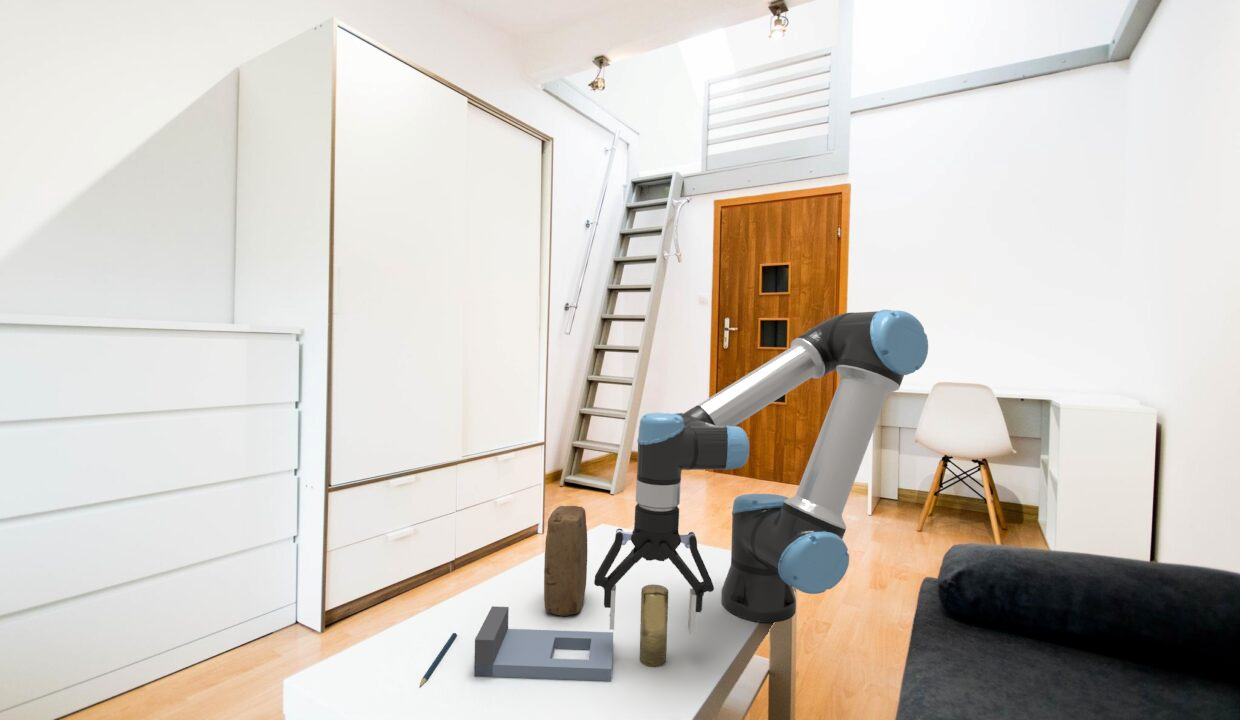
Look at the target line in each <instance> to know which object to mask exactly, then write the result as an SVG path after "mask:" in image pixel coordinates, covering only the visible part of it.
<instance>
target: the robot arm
mask: <svg viewBox="0 0 1240 720" xmlns="http://www.w3.org/2000/svg"><path fill="white" fill-rule="evenodd" d="M928 353H929V339H928V335H927V334H926V333H925V329H924V326H923V324H922V323H921V321H919V319H918V318H917V317H916V316H914V315H913V314H911V313H909V312H907V311H905V310H904V311H903V310H892V309H882V310H879V311H878V310H877V311H863V312H862V311H861V312H845V313H841V314H837V315H836V316H833V317H831V318H828V319H826V320H825V321H823V322H821V323H819V324H817V325H816V326H814V327H812V328H811V329H809V330H807V331H806V332H804V333H803V334H800V335H799V336H797V337H796V338H794V339H793V340H792V341H791V344H790V347H789V348H788V349H786V350H784V351H782V352H781V353H780V354H778V355H776V356H774V357H773V358H771V359H769V360H767V362H765V363H764V364H762V365H760V366H758V367H757V368H755V369H754V370H751V372H749V373H747V374H745V375H743V376H742V377H741V378H739V379H738V380H736V381H735V382H733V383H731V384H729V385H728V386H726V387H725V388H723V389H722V390H720V391H718V392H717V393H715V394H713V395H711V396H710V397H708V398H706V399H705V400H703V401H702V402H700V403H699V404H698V405H695V406H694V407H692V408H690V409H688V410H686V412H684V413H683V412H677V413H676V412H675V413H668V412H667V413H664V412H651V413H650V412H649V413H646V414H643V415H642V416H641V418H640V421H639V426H638V435H637V440H636V441H637V465H636V466H637V469H636V470H637V471H636V480H635V481H636V485H635V502H636V504H635V507H634V523H633V525H634V527H633V530H632V532H629V531H624V530H623V529H622V528H617V529H616V530H615V536H614V540H613V543H612V544H611V547H610V549H609V550H608V552H607V554H606V555H605V557H604V559H603V561H602V563H601V564H600V566H599V567H598V570H597V571H596V573H595V575H594V580H593V581H594V582H593V583H594V585H595V587H601V588H602V589H603V590H604V592H603V593H604V594H603V595H604V596H603V597H604V598H603V606H604V609H605V608H606V609H609V630H615V615H616V614H615V613H616V592H617V583H618V582H619V581H620V580H621V579H622V578H624V576H625V575H626V574H627V573H628V571H630V570H631V569H632V567H634V565H636V564H637V563H638V562H639V561H640V560H641V559H644V560H645V561H647V562H648V561H659V562H665V561H666V560H668V559H669V560H670V562H671V563H672V564H673V566H675V567H676V569H677V570H678V571H679V572H680V575H682V577H683V578H684V580H686V581H687V583H688V584H689V585H690V587H691V588H689V604H688V623H687V624H688V625H687V626H688V630H689V634H693V635H694V634H695V631H696V630H695V629H696V613H702V610H703V599H704V598H703V596H704V594H705V593H706V592H710V593H711V592H713V591H714V590H715V586H714V584H713V580H712V578H711V576H710V575H709V572H708V571H709V570H708V569H707V567H706V565H705V563H704V560H703V559H702V556H701V554H700V552H699V550H698V541H697V537H696V534H695V533H694V532H693V531H690V532H689V533H688V534H680V533H679V528H680V527H679V526H680V525H679V524H680V523H679V522H680V508H679V507H678V506H679V505H680V503H681V501H680V500H681V482H682V481H681V480H682V471H683V470H684V471H690V470H699V471H700V470H704V471H705V470H724V471H727V470H732V469H733V470H734V469H740V468H742V467H744V466H745V464H747V462H748V459H749V457H750V440H749V438H748V435H747V434H748V433H746V431H745V430H744V429H743V428H742V427H740V426H738V425H740V423H742V422H744V421H746V420H747V419H749V418H750V417H751V416H753V415H755V414H756V413H758V412H759V411H761V410H762V409H765V407H768V405H770V404H772V403H774V402H775V401H777V400H778V399H780V398H781V397H783V396H785V395H786V394H788V393H789V392H791V391H793V390H794V389H796V388H798V387H799V386H800V385H802V384H804V383H805V382H806V381H808V380H811V378H812V379H817V380H818V379H820V378H823V377H824V376H825V375H828V374H830V373H832V372H835V371H836V372H837V374H838V377H839V382H838V385H837V387H836V389H835V392H834V395H833V398H832V400H831V402H830V405H829V407H828V411H827V413H826V416H825V418H824V421H823V423H822V425H821V428H820V431H819V433H818V436H817V438H816V441H815V444H814V446H813V449H812V452H811V454H810V457H809V460H808V462H807V465H806V466H805V470H804V472H803V474H802V476H801V481H800V482H799V485H798V487H797V490H796V493H795V494H794V496H791V497H790V498H789V497H788V496H784V495H779V494H774V493H747V494H741V495H738V496H736V497H735V499H734V500H733V505H732V512H731V515H732V518H731V520H732V522H731V527H732V528H731V548H730V549H731V552H730V554H731V556H730V557H731V559H730V567H729V569H728V572H727V574H726V576H725V580H724V582H723V585H722V587H721V595H720V596H721V601H720V602H721V604H722V606H723V607H724V608H725V609H726V610H727V611H728V612H730V613H731V614H733V615H735V616H738V617H740V618H742V619H745V620H748V619H749V620H748V621H752V620H754V621H753V622H757V621H759V622H760V623H779V622H780V623H781V622H784V621H787V620H789V619H791V618H793V616H795V614H796V612H797V611H796V609H797V598H796V594H795V592H794V591H795V590H794V589H796V590H798V591H799V592H802V593H805V594H809V595H818V594H822V593H824V592H826V591H827V590H831V589H833V588H834V587H835V586H837V585H838V584H839V583H841V581H842V579H843V578H844V576H845V575H846V573H847V572H848V571H847V570H848V568H849V566H850V565H849V564H850V553H848V551H849V550H848V547H847V545H846V543H845V542H844V540H843V539H844V536H845V534H846V530H847V525H846V523H845V521H844V519H843V513H844V510H845V506H846V505H847V502H848V500H849V496H850V494H851V491H852V488H853V486H854V484H855V481H856V478H857V475H858V472H859V470H860V468H861V465H862V462H863V459H864V457H865V455H866V451H867V449H868V446H869V443H870V441H871V438H872V436H873V433H874V430H875V427H876V425H877V423H878V420H879V418H880V417H879V416H880V414H881V412H882V409H883V406H884V404H885V401H886V400H887V396H888V395H889V394H892V393H894V392H896V391H898V390H900V388H901V385H902V382H903V379H904V377H905V376H908V375H910V374H914V373H915V372H916V371H918V370H920V369H921V368H922V367H923V366H924V364H925V362H926V359H927V358H928ZM629 541H631V543H632V544H633V546H634V547H633V548H632V549H631V551H630V552H629V554H628V555H627V556H626V557H625V558H623V560H622V561H621V562H620V563H618V565H617V566H616V567H615V569H613V570H612V571H611V573H609V575H608V572H609V571H610V569H611V567H612V566H613V563H614V561H616V558H617V557H618V554H619V553H620V551H621V548H622V546H625V545H627V542H629ZM681 543H682V544H683V545H684V547H685V548H686V549H689V550H690V554H691V556H692V558H693V561H694V564H695V565H696V568H697V570H698V572H699V574H700V576H701V579H702V581H700V580H699V579H698V578H697V576H696V575H695V574H694V573H693V571H692V570H691V568H689V566H688V565H687V564H686V563H685V561H684V560H683V559H682V557H681V556H680V555H679V553H678V551H677V549H678V547H679V546H680V545H681ZM607 575H608V576H607ZM793 588H794V589H793ZM759 622H758V623H759Z"/></svg>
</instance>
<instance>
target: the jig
mask: <svg viewBox="0 0 1240 720" xmlns="http://www.w3.org/2000/svg"><path fill="white" fill-rule="evenodd" d="M509 610H510V608H509V606H491V607H490V609H489V611H488V613H487V615H486V617H485V620H484V621H483V623H482V626H481V627H480V629H479V631H478V633H477V635H476V637H475V639H474V669H473V674H474V677H484V678H485V677H488V678H508V679H509V678H510V679H511V678H513V679H517V678H518V679H539V680H540V679H543V680H565V681H567V680H570V681H595V682H596V681H597V682H598V681H601V682H611V681H612V667H613V651H614V650H613V647H614V631H613V632H611V631H609V632H608V631H586V630H585V631H581V630H559V629H558V630H557V629H555V630H554V629H530V628H529V629H527V628H526V629H524V628H509ZM557 649H561V650H589V655H588V659H582V658H581V659H578V658H576V659H575V658H574V659H573V658H553V657H554V655H555V654H554V653H555V650H557Z"/></svg>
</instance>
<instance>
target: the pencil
mask: <svg viewBox="0 0 1240 720" xmlns="http://www.w3.org/2000/svg"><path fill="white" fill-rule="evenodd" d="M457 637H458V635H457V633H456V632H453V633H451V635H450V637H449V639H448V640H447V642H445V644H444V645H443V647H442V648H441V650H440V652H439V653H438V654H437V656H436V658H435V659H434V660H433V662H432V664H431V665H430V666H429V667H428V670H427V671H426V672H425V674H424V675H423V677H422V678H421V680H420V683H419V688H421V687H422V686H424V685H425V684H426V682H428V680H429V679H430V677H431V676H432V675H433V673H434V671H435V669H436V668H437V667H438V665H439V664H440V662H441V661H442V659H443V658H444V656H445V655H446V653H447V652H448V651H449V649H450V647H451V645H452V644H453V643H454V641H455V640H456V638H457Z"/></svg>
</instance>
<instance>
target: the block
mask: <svg viewBox="0 0 1240 720" xmlns="http://www.w3.org/2000/svg"><path fill="white" fill-rule="evenodd" d="M587 527H588V526H587V513H586V510H585V508H584V507H583V506H578V505H560V506H558V507H556V508H555V509H554V510H553V511H552V513H551V514H550V516H549V517H548V520H547V530H546V534H545V545H544V546H545V547H544V568H543V569H544V570H543V574H544V575H543V576H544V577H543V597H544V599H543V601H544V603H543V604H544V609H545V611H546V612H547V613H549V614H553V615H557V616H562V617H563V616H564V617H565V616H566V617H567V616H571V615H574V614H578V613H579V612H580V611H581V610H582V607H583V605H584V602H585V596H586V594H585V593H586V589H587V578H588V577H587V573H588V571H587V570H588V528H587Z"/></svg>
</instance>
